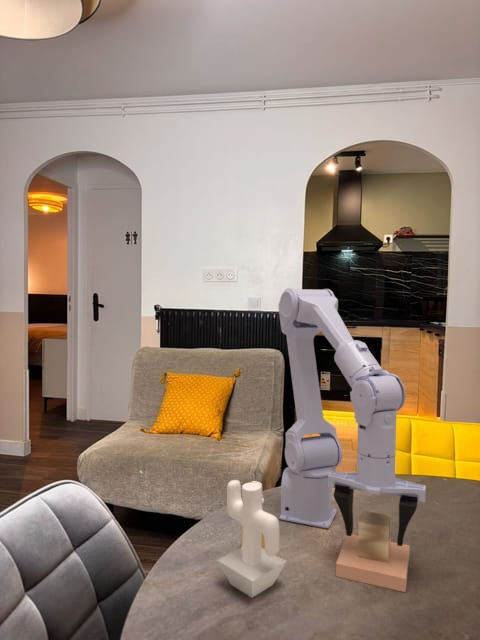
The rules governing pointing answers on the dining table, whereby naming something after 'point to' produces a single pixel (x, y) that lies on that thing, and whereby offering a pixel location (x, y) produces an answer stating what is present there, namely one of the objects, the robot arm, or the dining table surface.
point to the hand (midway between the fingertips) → (374, 537)
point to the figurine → (252, 541)
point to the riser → (374, 566)
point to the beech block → (374, 536)
